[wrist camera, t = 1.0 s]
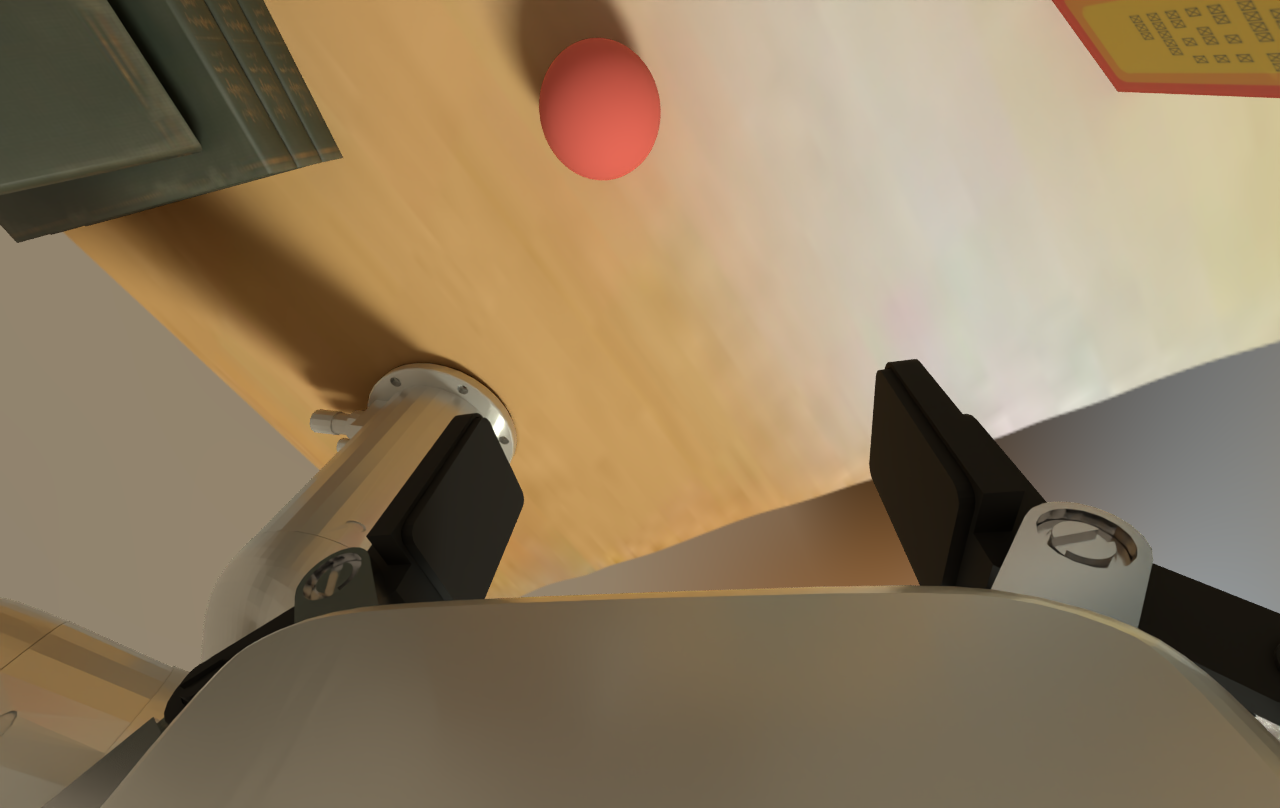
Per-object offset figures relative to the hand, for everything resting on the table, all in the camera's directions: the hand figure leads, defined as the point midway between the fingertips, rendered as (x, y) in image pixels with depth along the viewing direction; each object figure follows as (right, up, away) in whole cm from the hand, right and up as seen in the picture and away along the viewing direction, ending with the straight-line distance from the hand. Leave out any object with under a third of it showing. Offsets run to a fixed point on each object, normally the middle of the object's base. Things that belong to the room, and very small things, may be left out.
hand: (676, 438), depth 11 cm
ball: (-3, +15, +12) cm, 20 cm away
